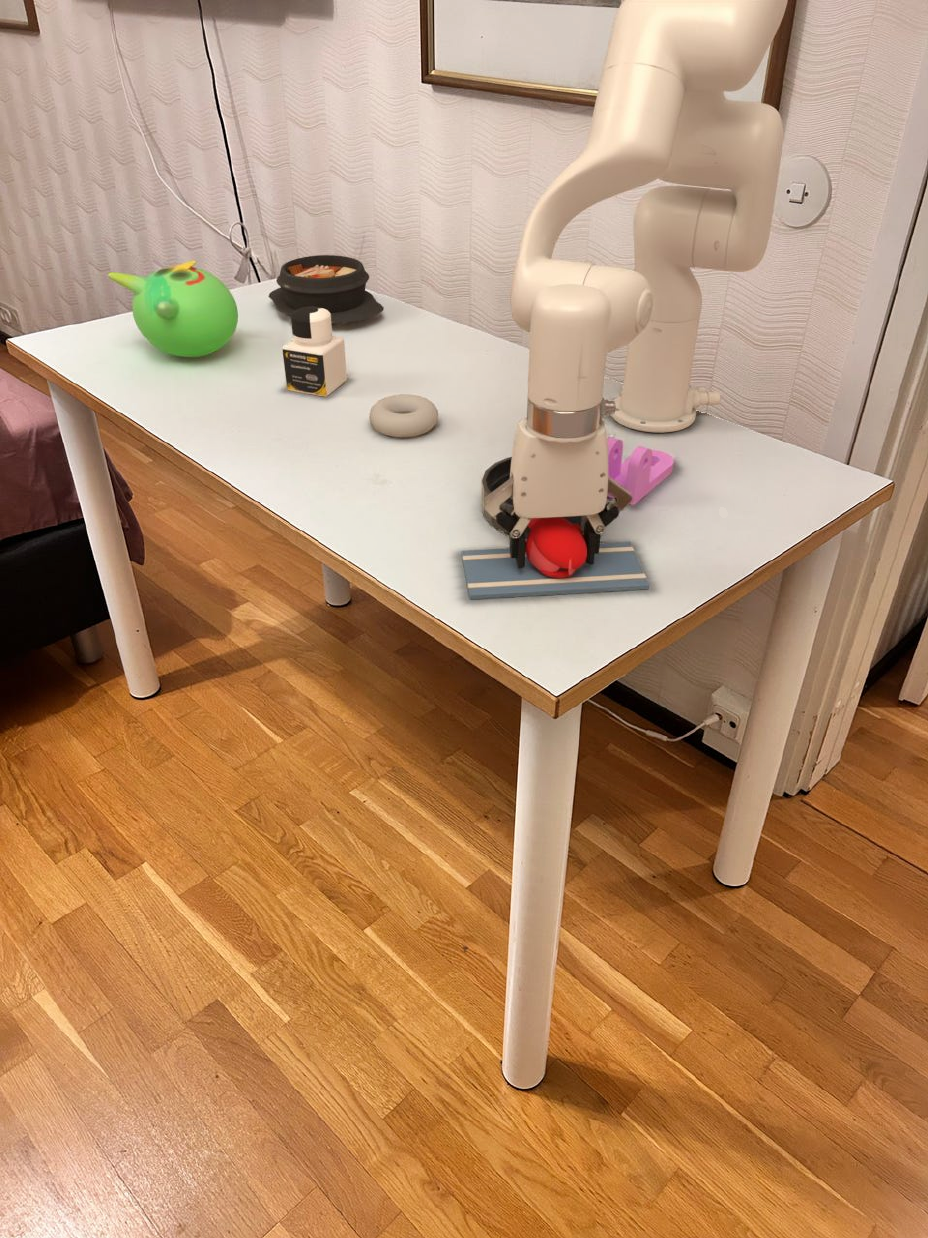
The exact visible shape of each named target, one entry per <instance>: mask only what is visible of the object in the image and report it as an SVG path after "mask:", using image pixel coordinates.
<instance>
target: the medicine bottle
mask: <svg viewBox="0 0 928 1238" xmlns="http://www.w3.org/2000/svg"><path fill="white" fill-rule="evenodd" d="M290 323H291V324H290V325H291V334H292V340H290V341H288V343H285V344H284V345H283V346H282V348H281V350H282V357H283V366H284V367H283V368H284V373H285V381H286V382H285V383H286V389H287V391H290V392H297V393H302V394H307V395H314V396H319V397H324V398H327V397H328V396H329V395H331V394H332V393H333V392H335V391H336V389H338V388H339V387H340V386H342V385H344V384H345V383H346V382H347V381H348V374H347V360H346V348H345V347H346V346H345V338H343V337H341V336H334V335H333V327H332V323H331V314H330V312H329V311H328V310H326V309H324V308H321V307H316V306H309V307H302V308H299V309H297V310H295V311H294V312H293V313H292V314H291V316H290Z"/></svg>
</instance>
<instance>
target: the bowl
mask: <svg viewBox="0 0 928 1238" xmlns="http://www.w3.org/2000/svg"><path fill="white" fill-rule="evenodd" d="M511 459H512V456H509V457H508V456H507V457H506V458H503V459H501V460H499V461H496V462H495V463H494V462H493V464H492V465H490V467H488V468H487V469H486V470H485V472H484V473H483V476H482V478H481V510H482V514H483V517H484V518H485V519H486V521H487V522H488V523H489V524H490V525H491V526H493V527H495V528H496V529H497V530H499V531H501V532H502V533H504V534H507V535H509V536H510V533H509V532H508V531H506V530H505V529H504V528H503V527H502V526H500V525H499V524H498V523H497V521H496V520H495V519H494V518H493V517H492V516H491V515H490V514H489V513H488V512H487V511H486V510H485V508H484V505H483V499H484V498H485V497H486V496H487V495H489V494H490V493H491V492H493V491H494V490H495V489H497V488H498V487H499V486H501V485H502V484H503V483H505V482H506V481H507V480H509V479H510V469H511ZM500 506H501V507H502V508H504V509H505V510H506V511H507V512H508V513H510V514H511V513H512V512H513V510H514V504H513V499H510V498H509V499H507V500H506V501H505V502H503V503H502V504H501V505H500ZM562 518H564V519H566V520H567V521H569V522H570V523H572V524H573V525H574V524H578V525H579V526H580V528H581V530H582V532H584V523H586V520H588V518H587V516H570V517H562ZM530 532H531V531H530V529H529V526H528V525H527V527H526V529H525V530H524V534H525V538H526V540H527V538H528V536H529V534H530Z"/></svg>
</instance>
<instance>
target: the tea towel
mask: <svg viewBox="0 0 928 1238" xmlns="http://www.w3.org/2000/svg"><path fill="white" fill-rule="evenodd" d="M461 560H462V565H463V566H462V567H463V571H464V577H465V582H466V587H467V592H468V593H467V594H468V599H469V600H470V601H471V600H487V599H502V598H505V599H506V598H520V597H537V596H553V595H554V596H556V595H573V594H574V595H575V594H585V593H586V594H587V593H588V594H589V593H605V592H622V591H623V592H624V591H640V590H641V591H642V590H649V589H650V584H649V582H648V580H647V575H646V574H645V573H644V570H643V568H642V566H641V563H640V562H639V559H638V557H637V554H636V553H635V549H634V546H633V545H632V543H631V542H630V541H619V542H618V541H617V542H616V541H615V542H600V547H599V553H598V554H595V555H594V564H592V565H588V564H587V563H586V561H585V562H584V564H583V565H582V566H581V567H579V568H577V570H576V571H575V572H574V573H573V574H572V575H571V576H569V577H564V578H555V577H549V576H546V575H544V574H543V573H541V572H540V571H539V570H538V569H537V568H536V567H535V566H534V565H533V564H532V563H531V562H530V561H529V560H528V558H527V555H526V551H525V567H523V568H521V569H518V566H517V562H516V558H511V556H510V547H507V548H505V547H504V548H489V549H487V548H485V549H471V550H461ZM558 570H566V569H565V568H561V567H560V568H559V569H558Z"/></svg>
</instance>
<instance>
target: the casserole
mask: <svg viewBox="0 0 928 1238" xmlns="http://www.w3.org/2000/svg"><path fill="white" fill-rule="evenodd" d="M369 280H370V275H369V273H368V272H367V271H366V269H365V267H364V264H363V262H361V261H360V260H358V259H356V258H353V257H349V256H345V255H336V254H335V255H334V254H320V255H309V256H302V257H299V258H294V259H292V260H289V261H287V262H285V263H284V264H282V265H281V266H280V271H279V275H278V276H277V277H276V284H277V285H278V286H279V287H277V288H275V289H273V290H272V291H270V293H268V298H269V299H270V300H271V301H272V302H273V304H274V306H275V309H276V310H277V311H278V312H280V313H282V314H284V315H286V316H289V317H291V314H292V313H293V312H294V311H295V310H297V309H299V308H302V307H309V306H316V307H321V308H324V309H326V310H328V311H329V312H330V314H331V324H339V325H340V324H350V323H351V324H352V323H356V322H361V321H365V320H368V319H371V318H374V317H375V316H377V315H379V314H381V313H382V312H383V311H384V309H385V308H384V307H385V306H383V305H382V304H381V303H380V302H379V301H377V300H376V298H375V297H374V295H373V294H372V293H371V292H369V291H368V290H366V286H367V283H368V282H369Z"/></svg>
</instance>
